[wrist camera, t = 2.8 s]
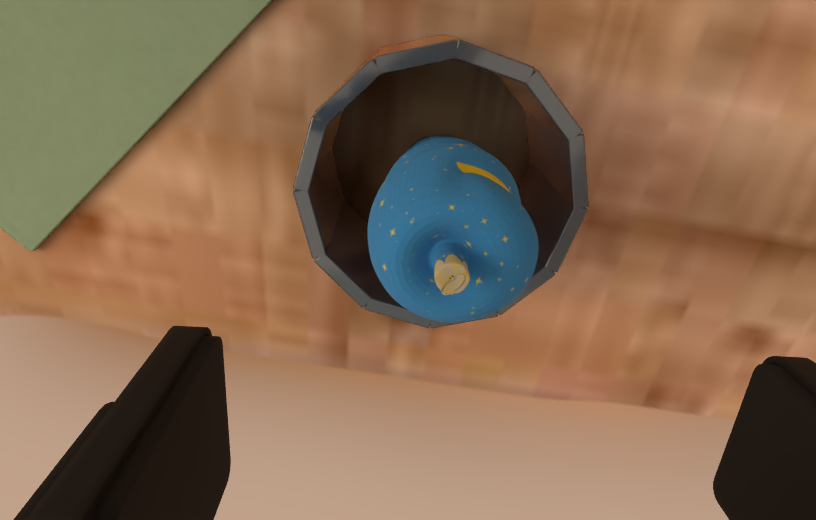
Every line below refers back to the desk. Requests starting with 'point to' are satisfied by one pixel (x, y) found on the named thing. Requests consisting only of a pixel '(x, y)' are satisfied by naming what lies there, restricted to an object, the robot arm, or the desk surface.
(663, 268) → the desk surface
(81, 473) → the robot arm
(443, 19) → the desk surface
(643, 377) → the desk surface
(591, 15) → the desk surface
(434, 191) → the ornament
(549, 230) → the crock
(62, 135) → the mat
